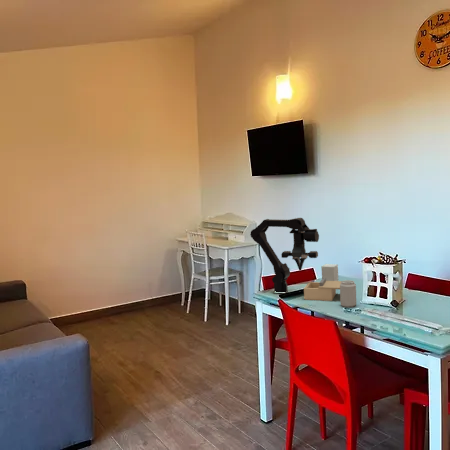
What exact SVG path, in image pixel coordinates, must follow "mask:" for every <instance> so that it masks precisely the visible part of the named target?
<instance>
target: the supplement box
mask: <svg viewBox="0 0 450 450" xmlns="http://www.w3.org/2000/svg"><path fill="white" fill-rule="evenodd" d="M338 266H339V264H335V263H334V264H333V263H332V264H331V263H325V264H323V265H321V280H322V279H323V278H326V281H340V280H339V267H338Z"/></svg>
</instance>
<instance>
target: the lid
mask: <svg viewBox="0 0 450 450" xmlns="http://www.w3.org/2000/svg"><path fill="white" fill-rule="evenodd" d="M319 282H320V286H319V287H318V289H336V290H340V284H341V280H339V281H326V278H323V279H322V278H321V280H320V281H319Z"/></svg>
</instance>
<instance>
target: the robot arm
mask: <svg viewBox="0 0 450 450" xmlns="http://www.w3.org/2000/svg"><path fill="white" fill-rule="evenodd" d="M269 227H275V228H278V227H279V228H288V229H291V230H290V231H289V234H292V235H293V237H292V238H293V244H292V245H293V246H292V247H293V248H292V251H291V250H284V251H282V252H281V254H280V255H281V258H282V259H287V258H288V257H292V260H293V261H295V263H296V266H297V268H298V271H302V269H303V265H304V263H305V260H307V259H308V257H309V259H317V258H318V257H319V252H318V251H317V250H310V251H309V252H306V247H305V246H306V245H305V244H306V243H305V242H307V243H318V242H319V239H320V235H319V231H318V229H317V228H309V226H308V225H307V223H306V221H305V219H304V218H303V217H297V218H296V217H295V218H291V219H269V218H266V219H263V220H262V221H261V223H260V224H258V225H257V226H256V227H255V228H253V229H251V231H250V235H249V236H250V237H251V239H252V240H253V241H254V242H255V243H256V244H258V245H259V246H260V247H261V249H262V251H263V252H264V254H265V256H266V257H267V259H268V261H269V262H270V263H271V265H272V267H273V272H274V276H273V277H272V279H271V281H272V283H273V292H274V291H276V292H286V293H287V292H288V290H289V289H288V283H287V280H288V278H289V277H290V276H291V275H290V274H291V271H290V270H291V268H290V267H289V266H288V264H287V263H286V262H284V263H282V262H281V259H280V258H279V257H278V255H277V254H276V252H275V251H274V248H272V246H271V244H270V243H269V241H268V238H267V233H266V232H267V230H268V229H269Z"/></svg>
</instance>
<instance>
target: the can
mask: <svg viewBox="0 0 450 450" xmlns="http://www.w3.org/2000/svg"><path fill="white" fill-rule="evenodd" d="M340 281H341V280H340ZM339 299H340V303H339V304H340V305H341V306H342V307H344V308H354V307H356V305H357V285H356V283H355V281H354V280H350V279H346V280H345V279H344V280H342V281H341V284H340V289H339Z"/></svg>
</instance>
